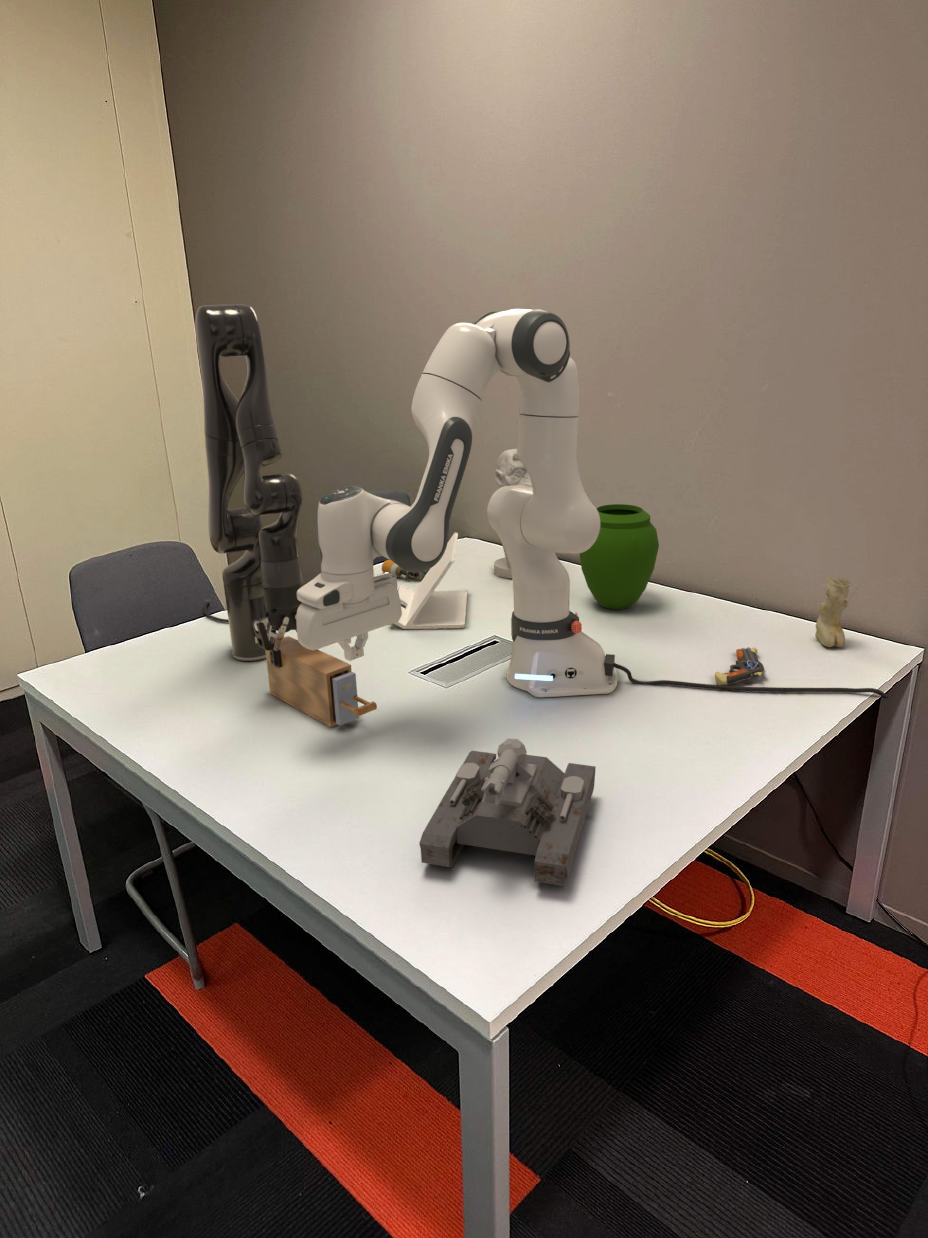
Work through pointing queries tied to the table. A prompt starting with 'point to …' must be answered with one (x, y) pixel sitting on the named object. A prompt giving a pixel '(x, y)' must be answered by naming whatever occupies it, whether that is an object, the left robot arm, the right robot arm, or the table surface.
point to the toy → (512, 810)
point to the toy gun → (741, 667)
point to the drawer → (347, 698)
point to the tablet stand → (434, 599)
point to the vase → (620, 556)
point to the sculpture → (832, 613)
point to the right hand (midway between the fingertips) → (354, 657)
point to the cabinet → (305, 679)
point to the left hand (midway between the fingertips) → (291, 661)
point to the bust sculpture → (508, 475)
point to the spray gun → (399, 570)
